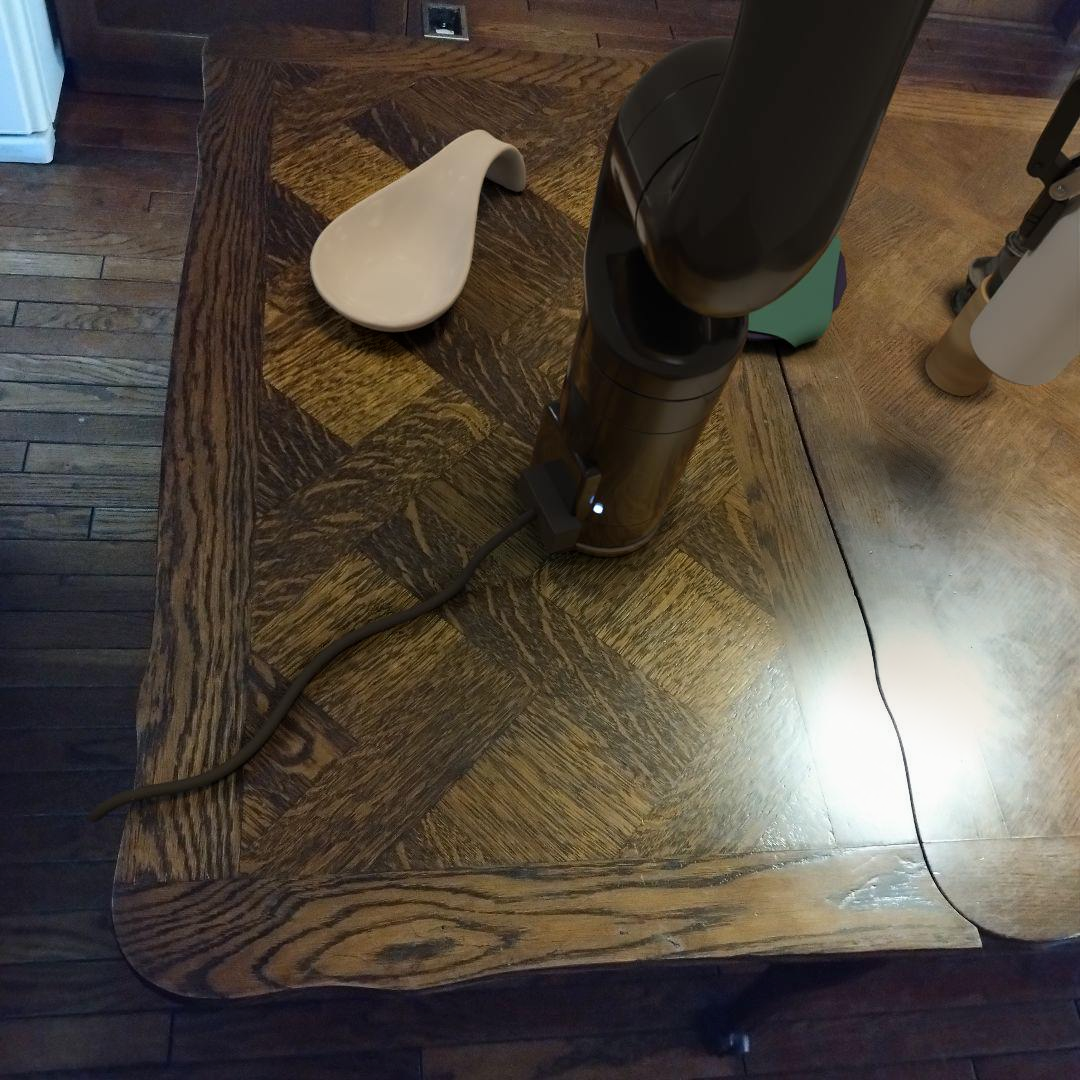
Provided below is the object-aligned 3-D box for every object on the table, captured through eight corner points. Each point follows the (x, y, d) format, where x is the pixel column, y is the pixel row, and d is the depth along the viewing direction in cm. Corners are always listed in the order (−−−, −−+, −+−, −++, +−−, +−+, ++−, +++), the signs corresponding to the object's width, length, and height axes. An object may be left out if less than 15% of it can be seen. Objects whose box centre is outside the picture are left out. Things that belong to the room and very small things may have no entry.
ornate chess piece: (1013, 341, 86) (1099, 235, 76) (948, 324, 86) (1026, 215, 76) (1009, 294, 89) (1092, 187, 79) (947, 278, 89) (1022, 168, 79)
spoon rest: (412, 379, 74) (416, 311, 68) (281, 309, 76) (274, 237, 69) (558, 207, 86) (572, 137, 80) (442, 150, 88) (448, 77, 82)
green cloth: (593, 312, 80) (598, 291, 78) (661, 100, 96) (667, 79, 94) (826, 383, 80) (838, 364, 78) (857, 159, 96) (867, 139, 94)
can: (1003, 399, 64) (1124, 261, 54) (947, 326, 67) (1052, 182, 57) (1077, 378, 66) (1206, 241, 56) (1020, 308, 69) (1133, 165, 59)
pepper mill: (947, 402, 81) (1032, 297, 71) (913, 357, 83) (990, 249, 73) (993, 388, 83) (1082, 283, 72) (958, 344, 85) (1039, 236, 75)
